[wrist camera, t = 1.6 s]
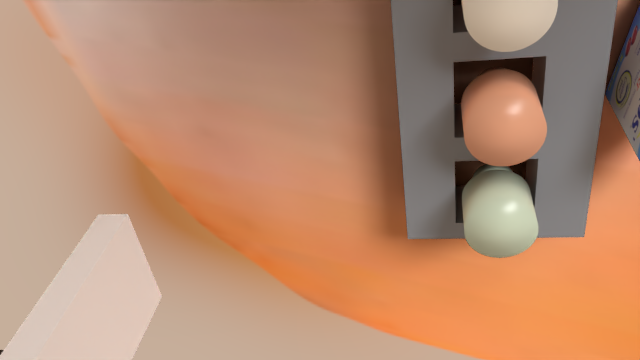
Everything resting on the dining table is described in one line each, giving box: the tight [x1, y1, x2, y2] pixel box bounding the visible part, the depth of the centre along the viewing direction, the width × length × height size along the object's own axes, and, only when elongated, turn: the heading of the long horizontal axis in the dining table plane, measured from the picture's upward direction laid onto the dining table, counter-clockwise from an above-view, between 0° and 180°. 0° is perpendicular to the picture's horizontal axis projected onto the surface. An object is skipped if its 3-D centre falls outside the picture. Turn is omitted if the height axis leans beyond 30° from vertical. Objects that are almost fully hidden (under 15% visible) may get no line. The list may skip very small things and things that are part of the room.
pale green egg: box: [462, 164, 538, 258], centre depth 40 cm, size 4×4×6 cm
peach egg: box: [461, 67, 547, 166], centre depth 36 cm, size 4×4×6 cm
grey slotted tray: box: [391, 0, 618, 239], centre depth 38 cm, size 22×12×4 cm, turn 8°
